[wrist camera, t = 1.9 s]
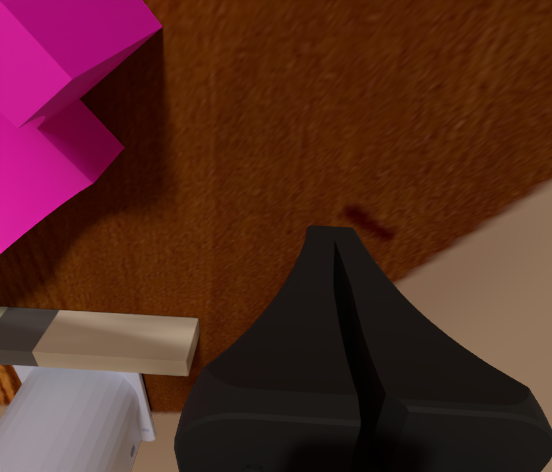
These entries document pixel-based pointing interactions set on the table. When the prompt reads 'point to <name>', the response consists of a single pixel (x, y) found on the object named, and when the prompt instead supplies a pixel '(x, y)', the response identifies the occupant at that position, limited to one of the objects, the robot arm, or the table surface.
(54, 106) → the toy block
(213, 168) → the table surface
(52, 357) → the trap lane
